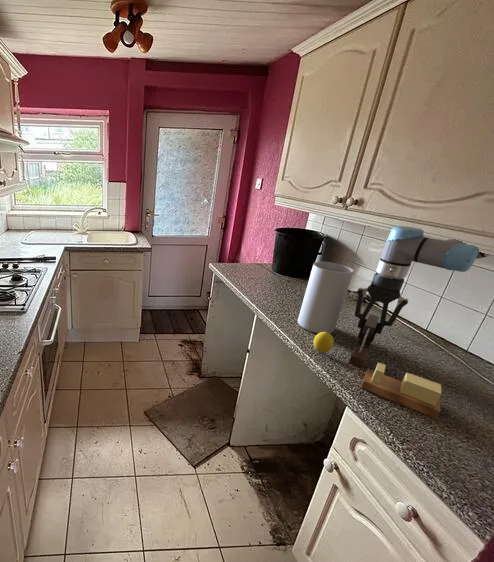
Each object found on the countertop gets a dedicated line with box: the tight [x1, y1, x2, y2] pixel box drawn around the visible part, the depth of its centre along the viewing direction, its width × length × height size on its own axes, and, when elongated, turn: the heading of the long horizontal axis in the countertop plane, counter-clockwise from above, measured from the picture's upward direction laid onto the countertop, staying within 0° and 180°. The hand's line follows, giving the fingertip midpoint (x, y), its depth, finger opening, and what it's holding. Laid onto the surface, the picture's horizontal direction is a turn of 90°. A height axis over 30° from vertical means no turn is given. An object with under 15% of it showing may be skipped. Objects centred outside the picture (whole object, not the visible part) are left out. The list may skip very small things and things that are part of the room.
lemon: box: [312, 332, 335, 354], centre depth 105 cm, size 6×6×8 cm
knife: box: [359, 313, 380, 353], centre depth 104 cm, size 3×21×6 cm, turn 136°
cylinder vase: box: [297, 261, 355, 335], centre depth 118 cm, size 12×12×25 cm
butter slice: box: [372, 362, 387, 384], centre depth 89 cm, size 2×5×4 cm, turn 137°
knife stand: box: [348, 333, 372, 369], centre depth 105 cm, size 4×20×6 cm, turn 136°
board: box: [360, 368, 441, 419], centre depth 87 cm, size 16×8×2 cm, turn 46°
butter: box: [400, 372, 442, 406], centre depth 84 cm, size 7×5×4 cm
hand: (365, 338), depth 108 cm, fingers closed on knife, 3 cm apart
